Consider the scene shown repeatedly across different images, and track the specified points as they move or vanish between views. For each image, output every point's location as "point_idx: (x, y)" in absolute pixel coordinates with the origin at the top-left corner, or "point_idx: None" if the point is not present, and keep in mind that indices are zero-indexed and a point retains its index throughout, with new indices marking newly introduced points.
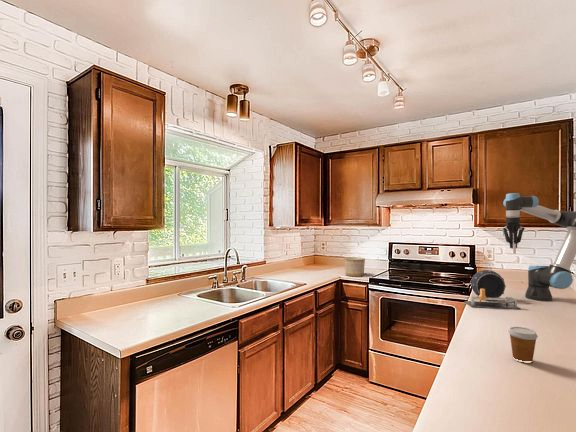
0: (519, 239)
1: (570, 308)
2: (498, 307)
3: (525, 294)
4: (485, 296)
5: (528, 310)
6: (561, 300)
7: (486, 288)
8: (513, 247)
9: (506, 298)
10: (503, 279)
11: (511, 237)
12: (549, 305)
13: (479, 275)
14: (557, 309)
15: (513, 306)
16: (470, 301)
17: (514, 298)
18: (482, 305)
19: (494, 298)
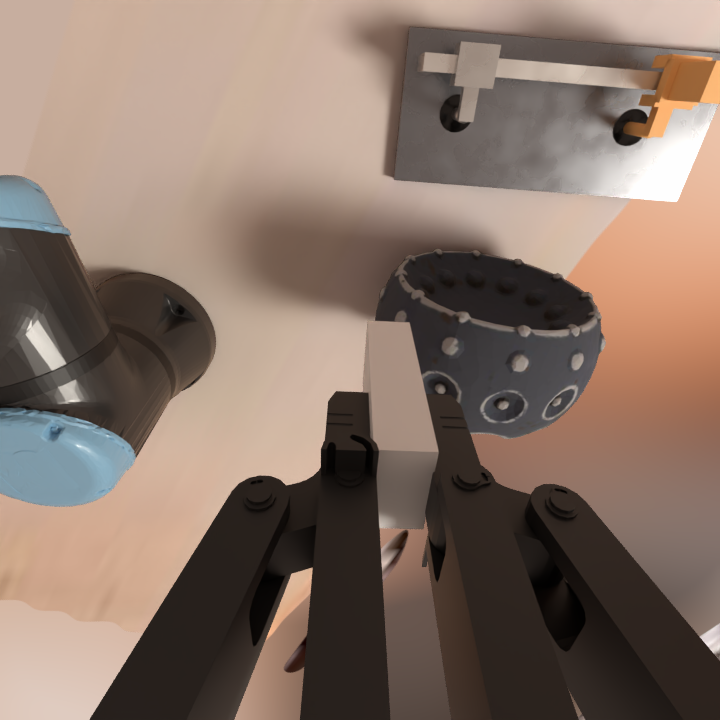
0: (247, 551)
1: (50, 103)
2: (557, 39)
3: (210, 359)
4: (677, 59)
5: (365, 5)
6: None
7: (490, 314)
8: (420, 386)
9: (503, 59)
10: (404, 310)
11: (533, 638)
12: (155, 174)
13: (591, 346)
14: (146, 62)
15: None
16: (645, 190)
17: (437, 67)
18: None
19: (592, 66)
